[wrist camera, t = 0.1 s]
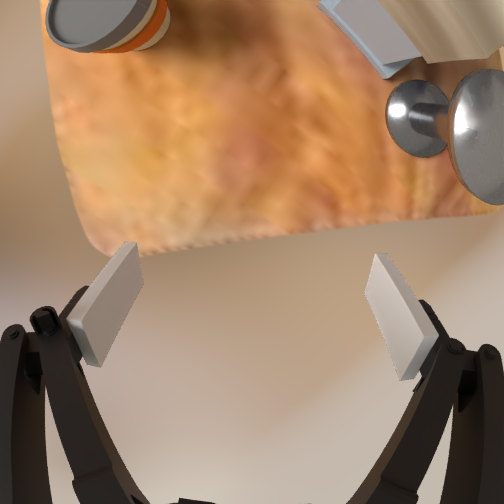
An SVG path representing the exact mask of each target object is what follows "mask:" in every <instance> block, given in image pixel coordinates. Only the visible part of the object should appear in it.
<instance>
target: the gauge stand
mask: <svg viewBox="0 0 504 504" xmlns="http://www.w3.org/2000/svg"><path fill="white" fill-rule="evenodd" d="M317 6H318V7H319V8H320V9H321V10H322V11H323V12H324V13H325V14H326V15H327V16H328V17H329V18H330V19H331V20H332V21H333V22H334V23H335V24H336V25H337V26H338V27H339V28H340V29H341V30H342V31H343V33H344V34H345V35H346V36H347V37H348V38H349V39H350V40H351V41H352V42H353V44H354V45H355V46H356V47H357V48H358V49H359V50H360V52H361V53H362V54H363V55H364V56H365V57H366V59H367V60H368V61H369V62H370V63H371V65H372V66H373V67H374V68H375V70H376V71H377V72H378V73H379V75H380V76H381V77H382V79H387V78H389V77H391V76H392V75H393V74H395V73H396V72H397V71H399V70H400V69H401V68H403V67H404V66H405V65H407V64H408V63H410V62H411V61H412V60H414V59H415V58H416V57H420V56H422V55H421V54H420V52H419V51H418V50H417V48H416V47H415V46H414V44H413V43H412V42H411V40H410V39H409V38H408V36H407V35H406V34H405V33H404V31H403V30H402V29H401V28H400V26H399V25H398V24H397V23H396V22H395V20H394V19H393V18H392V17H391V16H390V15H389V13H388V12H387V11H386V10H385V9H384V8H383V7H382V6H381V5H380V3H379V2H378V1H377V0H321V1H320V2H319V3H318V5H317ZM503 46H504V45H503Z"/></svg>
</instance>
